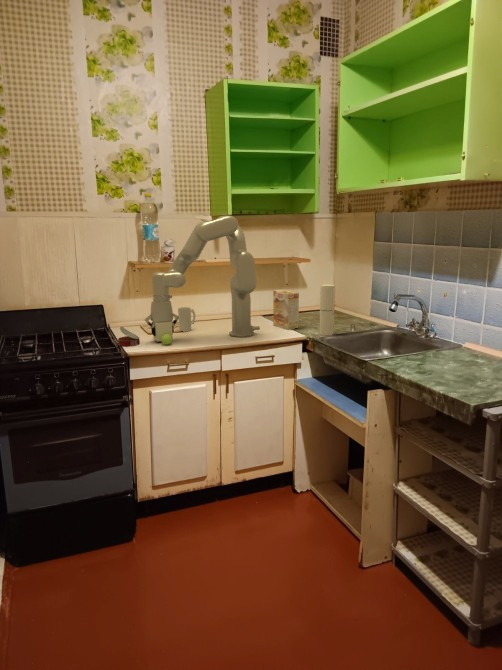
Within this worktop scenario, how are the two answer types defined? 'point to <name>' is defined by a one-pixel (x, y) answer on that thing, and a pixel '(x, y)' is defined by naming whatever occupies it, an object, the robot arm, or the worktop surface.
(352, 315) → the worktop surface
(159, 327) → the grey piece
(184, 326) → the mug
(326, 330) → the cylindrical container
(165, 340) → the ball
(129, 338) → the canned food
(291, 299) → the coffeecake box
